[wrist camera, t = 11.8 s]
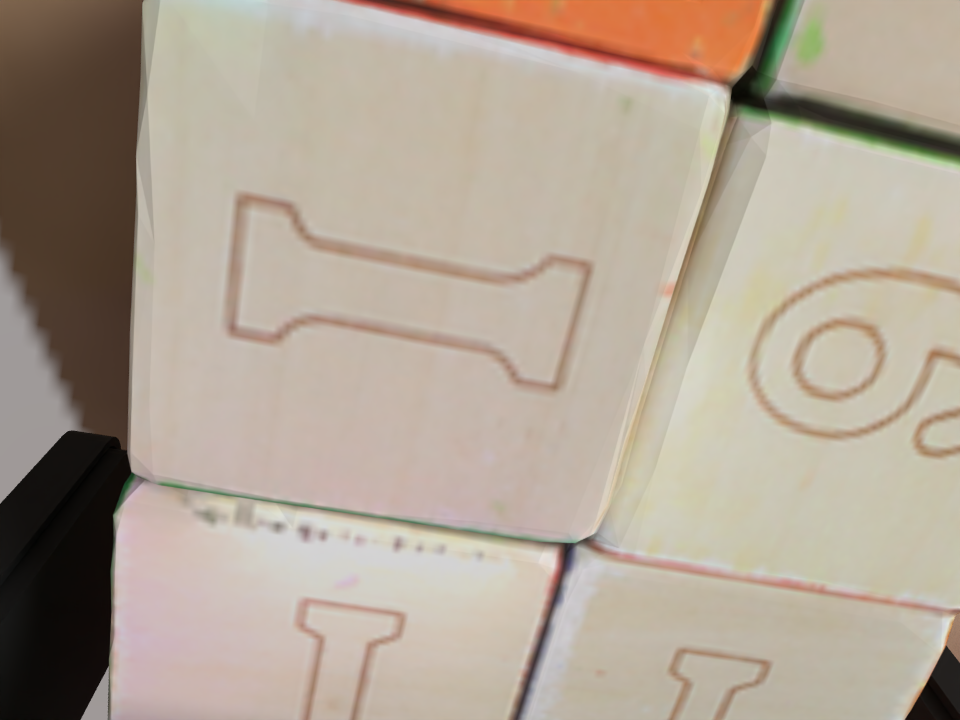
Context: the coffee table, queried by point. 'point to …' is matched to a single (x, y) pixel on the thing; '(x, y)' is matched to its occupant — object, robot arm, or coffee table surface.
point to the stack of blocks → (541, 361)
